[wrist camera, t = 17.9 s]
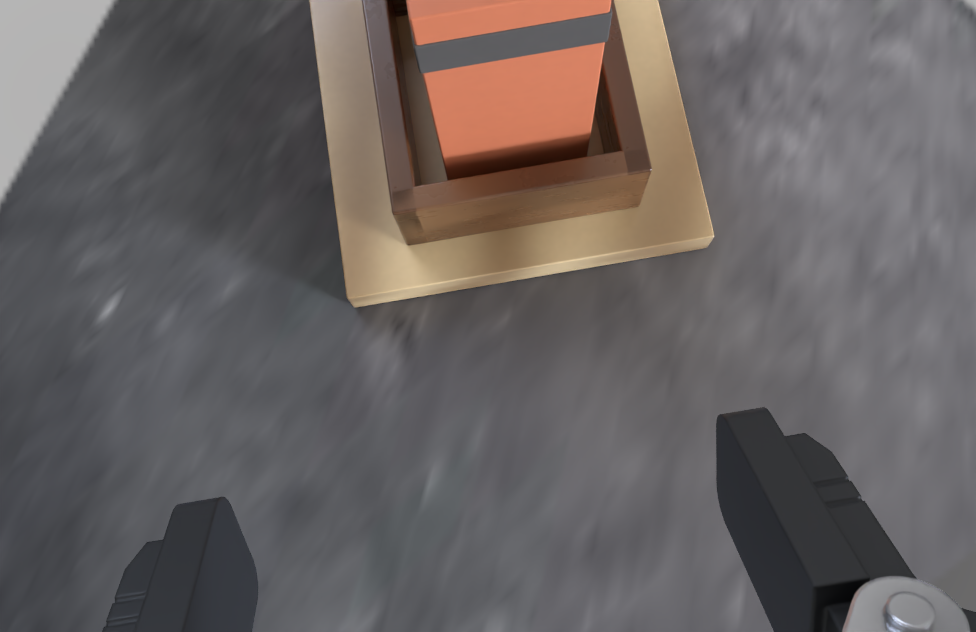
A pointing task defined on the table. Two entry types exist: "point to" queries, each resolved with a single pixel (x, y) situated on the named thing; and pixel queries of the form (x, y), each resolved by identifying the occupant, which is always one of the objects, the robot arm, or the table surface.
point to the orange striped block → (509, 78)
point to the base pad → (506, 194)
